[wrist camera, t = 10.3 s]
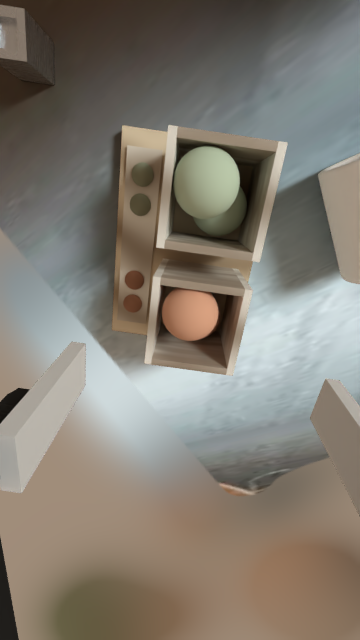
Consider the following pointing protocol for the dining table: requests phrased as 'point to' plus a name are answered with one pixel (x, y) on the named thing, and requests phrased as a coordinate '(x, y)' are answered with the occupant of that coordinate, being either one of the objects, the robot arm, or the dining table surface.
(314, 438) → the dining table surface
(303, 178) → the dining table surface
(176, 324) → the ball terracotta
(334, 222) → the mug
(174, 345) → the rack
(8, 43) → the post
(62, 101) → the dining table surface
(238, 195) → the ball sage lower
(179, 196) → the ball sage upper
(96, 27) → the dining table surface
